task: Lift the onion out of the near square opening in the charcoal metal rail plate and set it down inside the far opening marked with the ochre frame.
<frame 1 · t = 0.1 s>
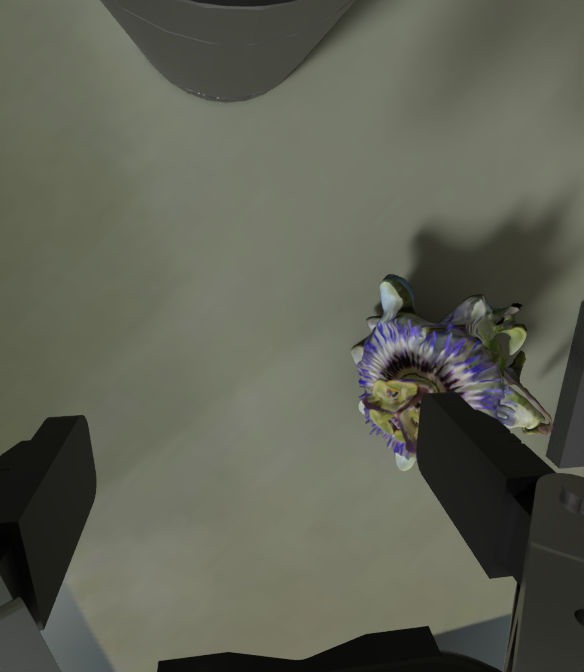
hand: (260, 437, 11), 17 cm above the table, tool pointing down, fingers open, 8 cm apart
passion flower: (421, 350, 31), on the table
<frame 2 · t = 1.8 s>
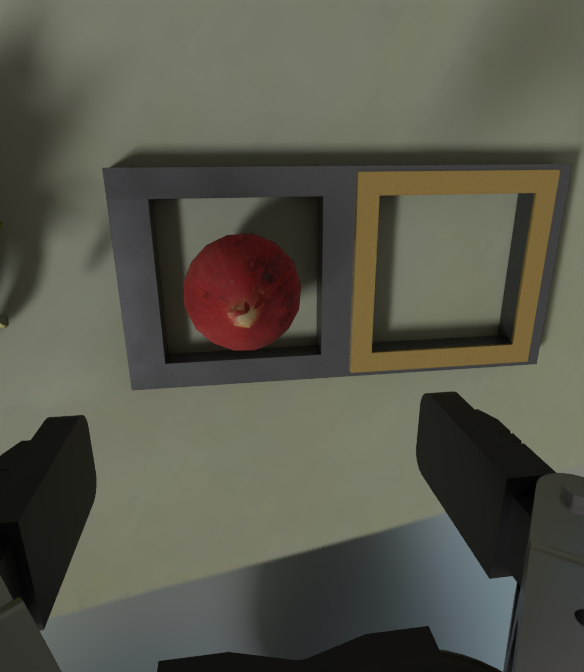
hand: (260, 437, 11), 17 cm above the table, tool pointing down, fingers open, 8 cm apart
rail plate: (342, 273, 28), on the table
onion: (240, 276, 28), resting in rail plate
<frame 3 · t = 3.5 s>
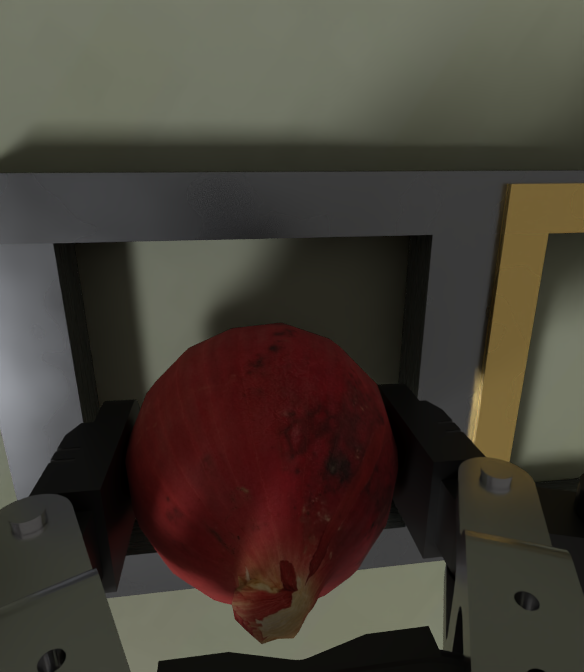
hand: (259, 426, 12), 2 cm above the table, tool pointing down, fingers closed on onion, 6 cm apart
rail plate: (445, 372, 15), on the table
onion: (253, 381, 14), resting in rail plate, touching gripper
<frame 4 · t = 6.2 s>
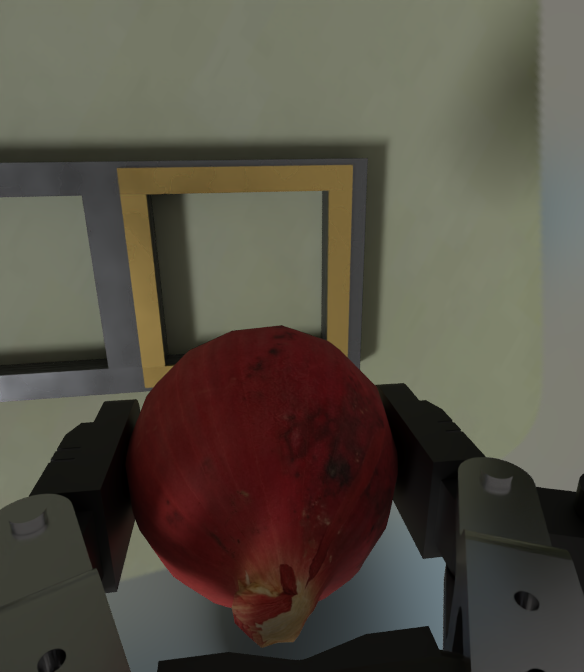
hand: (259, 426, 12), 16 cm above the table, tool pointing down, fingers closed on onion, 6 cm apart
rail plate: (131, 279, 26), on the table
onion: (253, 383, 14), point 13 cm above the table, touching gripper
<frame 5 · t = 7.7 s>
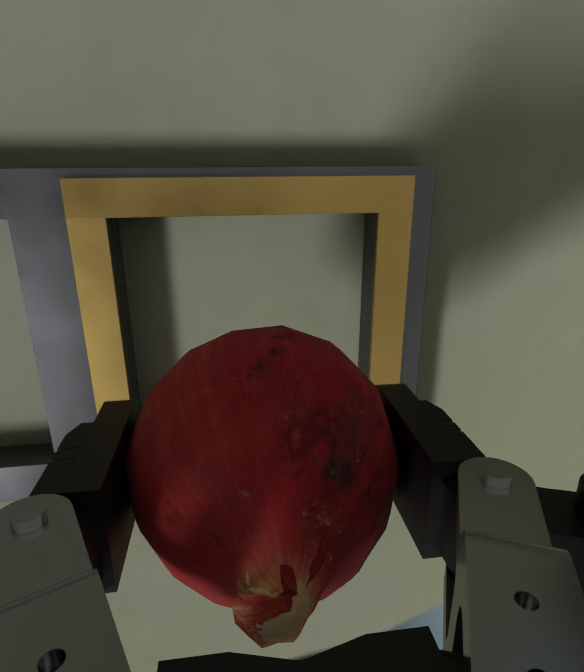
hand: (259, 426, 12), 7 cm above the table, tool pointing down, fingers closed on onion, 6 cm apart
rail plate: (90, 336, 18), on the table
onion: (253, 383, 14), point 5 cm above the table, touching gripper
when the fingers open (4 cm above the table, at t = 9.0 s): onion drops 1 cm, resting in rail plate.
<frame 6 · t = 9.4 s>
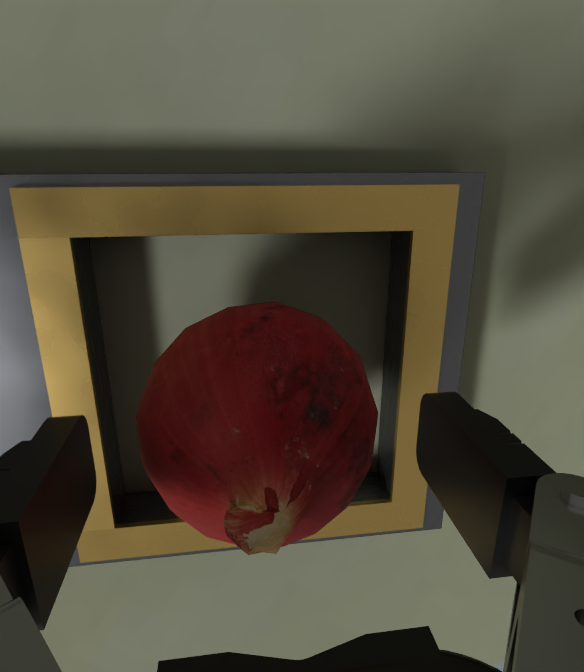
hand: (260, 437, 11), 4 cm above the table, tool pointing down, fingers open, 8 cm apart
rail plate: (58, 377, 15), on the table
onion: (254, 363, 16), resting in rail plate
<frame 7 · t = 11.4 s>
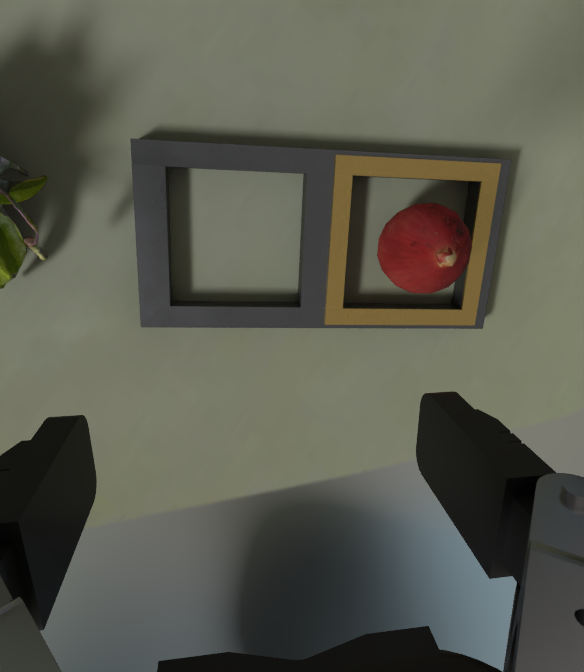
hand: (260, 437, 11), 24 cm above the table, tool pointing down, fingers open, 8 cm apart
rail plate: (321, 241, 34), on the table
onion: (402, 242, 35), resting in rail plate
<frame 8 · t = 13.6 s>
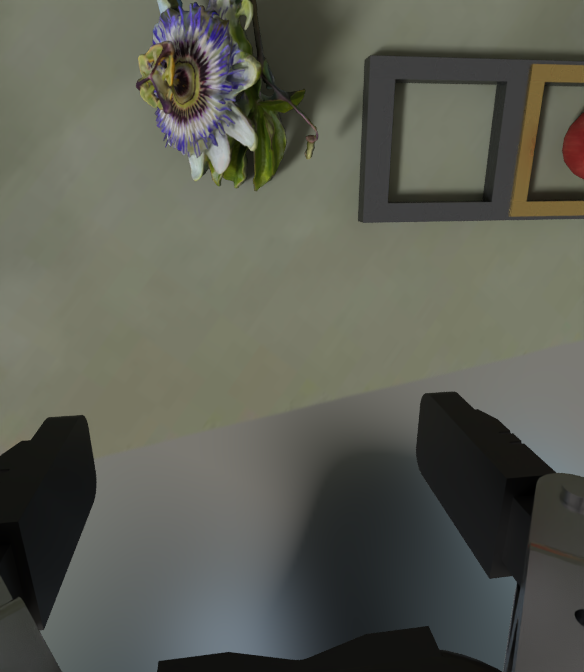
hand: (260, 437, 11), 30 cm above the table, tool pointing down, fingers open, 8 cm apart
rail plate: (506, 145, 40), on the table
onion: (571, 144, 41), resting in rail plate
passion flower: (227, 101, 36), on the table
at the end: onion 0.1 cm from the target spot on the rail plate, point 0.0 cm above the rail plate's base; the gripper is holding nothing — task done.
